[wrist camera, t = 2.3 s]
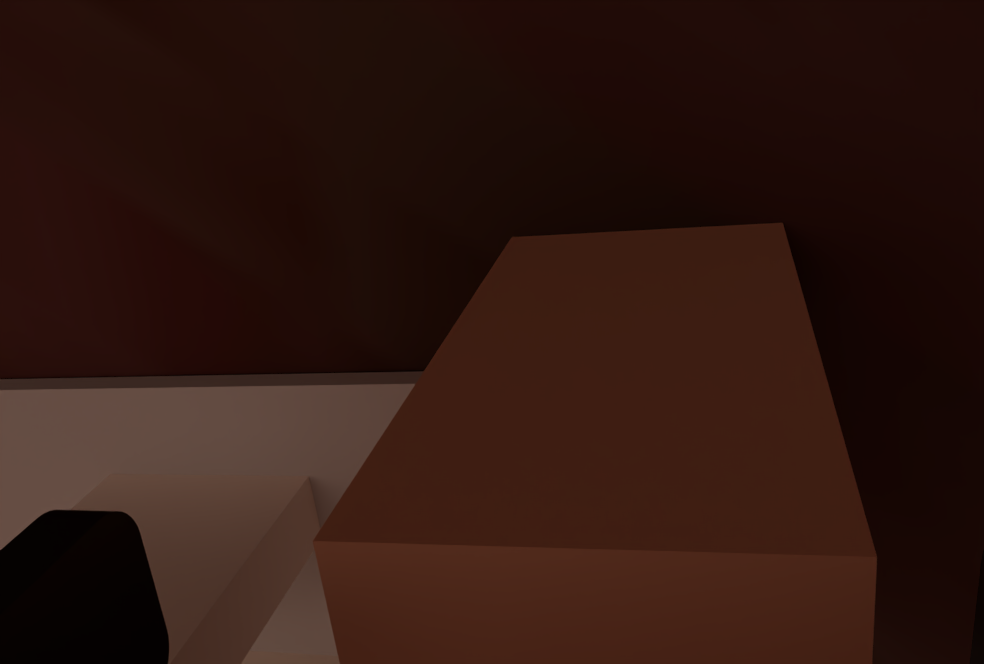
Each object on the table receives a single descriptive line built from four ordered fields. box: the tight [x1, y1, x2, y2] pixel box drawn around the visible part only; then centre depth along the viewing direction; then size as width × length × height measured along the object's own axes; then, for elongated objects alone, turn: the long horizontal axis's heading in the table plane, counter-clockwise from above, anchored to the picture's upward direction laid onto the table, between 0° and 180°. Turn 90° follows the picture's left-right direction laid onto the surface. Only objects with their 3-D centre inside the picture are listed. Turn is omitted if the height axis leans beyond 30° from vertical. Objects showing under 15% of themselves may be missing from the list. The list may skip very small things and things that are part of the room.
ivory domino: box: [71, 474, 320, 664], centre depth 17 cm, size 5×2×10 cm, turn 97°
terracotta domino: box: [313, 223, 877, 664], centre depth 13 cm, size 5×2×10 cm, turn 97°
